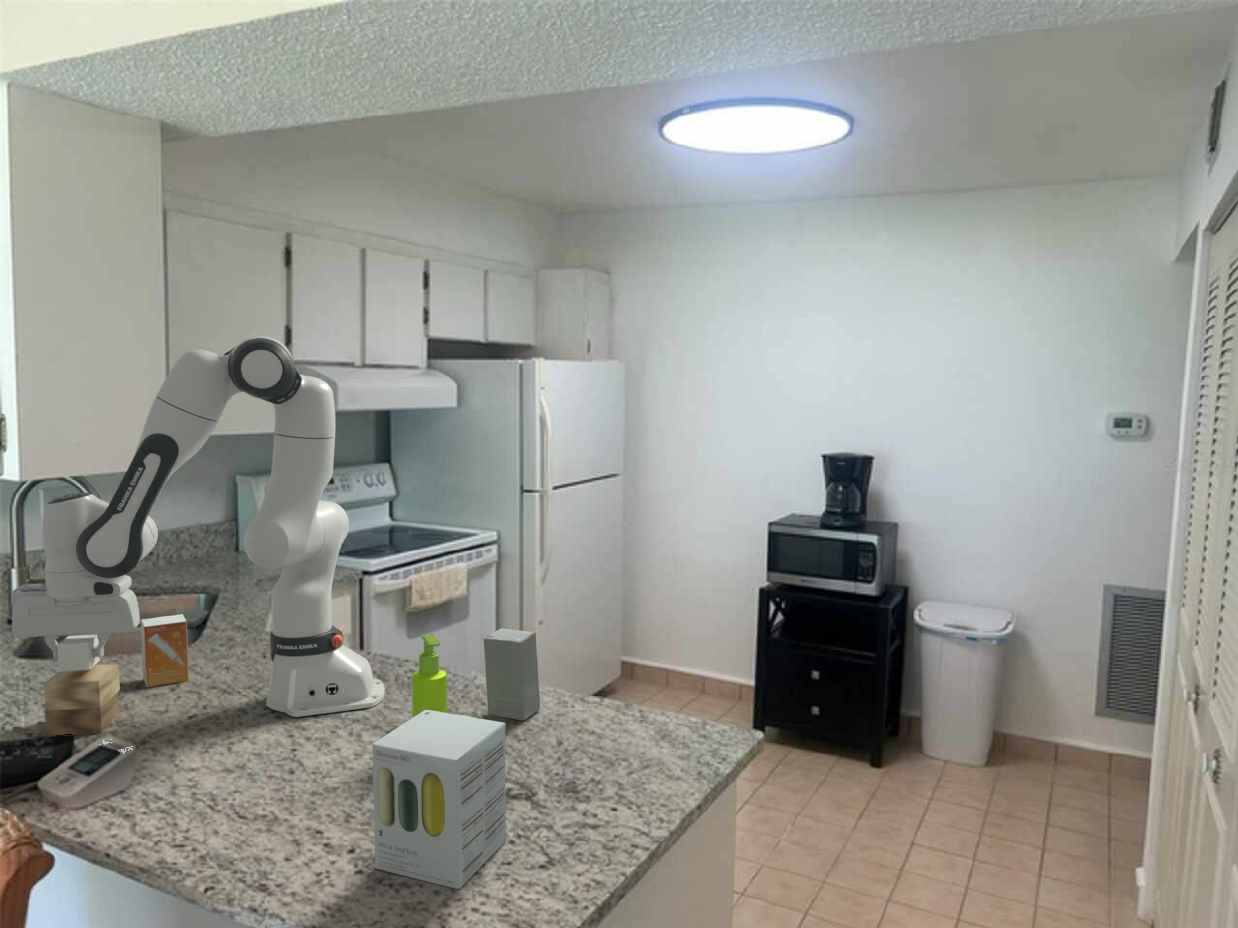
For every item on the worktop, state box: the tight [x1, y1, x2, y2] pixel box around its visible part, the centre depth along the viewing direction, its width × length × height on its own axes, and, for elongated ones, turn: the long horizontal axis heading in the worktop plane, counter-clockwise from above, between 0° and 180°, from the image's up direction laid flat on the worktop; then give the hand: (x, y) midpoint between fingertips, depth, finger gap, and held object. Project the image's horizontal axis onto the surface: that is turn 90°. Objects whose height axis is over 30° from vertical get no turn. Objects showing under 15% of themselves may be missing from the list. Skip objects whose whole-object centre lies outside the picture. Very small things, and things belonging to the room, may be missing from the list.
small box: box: [140, 613, 190, 688], centre depth 187 cm, size 8×6×13 cm
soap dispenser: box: [411, 633, 448, 718], centre depth 155 cm, size 6×7×20 cm
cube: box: [57, 634, 101, 672], centre depth 163 cm, size 5×5×5 cm
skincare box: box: [483, 627, 541, 721], centre depth 171 cm, size 8×7×16 cm
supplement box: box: [371, 710, 507, 890], centre depth 121 cm, size 13×13×18 cm
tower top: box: [43, 663, 121, 711], centre depth 164 cm, size 9×9×5 cm
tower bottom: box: [44, 691, 120, 737], centre depth 164 cm, size 9×9×5 cm
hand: (79, 657), depth 163 cm, fingers closed on cube, 5 cm apart
